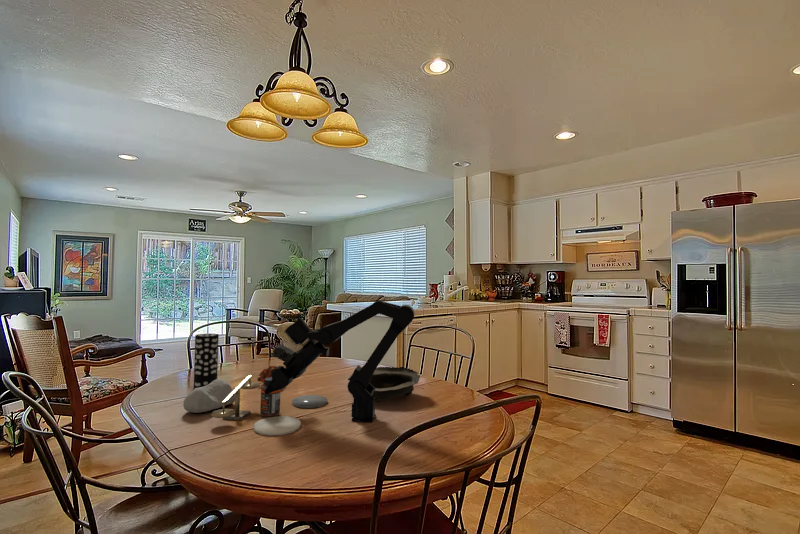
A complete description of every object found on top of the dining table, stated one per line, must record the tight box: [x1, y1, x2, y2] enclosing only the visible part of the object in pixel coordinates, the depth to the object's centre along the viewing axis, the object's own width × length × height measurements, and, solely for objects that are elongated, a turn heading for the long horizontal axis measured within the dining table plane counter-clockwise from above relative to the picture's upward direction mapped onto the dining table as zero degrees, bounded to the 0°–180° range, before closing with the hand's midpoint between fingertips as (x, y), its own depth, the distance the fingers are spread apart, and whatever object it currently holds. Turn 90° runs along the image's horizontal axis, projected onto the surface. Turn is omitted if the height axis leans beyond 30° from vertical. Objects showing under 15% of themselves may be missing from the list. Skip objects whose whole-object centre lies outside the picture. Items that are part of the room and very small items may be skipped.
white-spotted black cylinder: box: [193, 333, 219, 389], centre depth 163 cm, size 8×8×20 cm
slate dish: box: [291, 394, 328, 409], centre depth 145 cm, size 12×12×1 cm
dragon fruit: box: [256, 365, 278, 386], centre depth 166 cm, size 8×8×12 cm
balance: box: [211, 374, 261, 422], centre depth 129 cm, size 6×22×11 cm, turn 172°
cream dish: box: [253, 415, 302, 437], centre depth 121 cm, size 13×13×1 cm
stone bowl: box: [370, 366, 421, 402], centre depth 154 cm, size 25×25×9 cm
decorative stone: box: [182, 378, 235, 414], centre depth 136 cm, size 17×10×10 cm
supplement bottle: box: [259, 377, 282, 418], centre depth 132 cm, size 6×6×11 cm
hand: (270, 389), depth 132 cm, fingers open, 9 cm apart
